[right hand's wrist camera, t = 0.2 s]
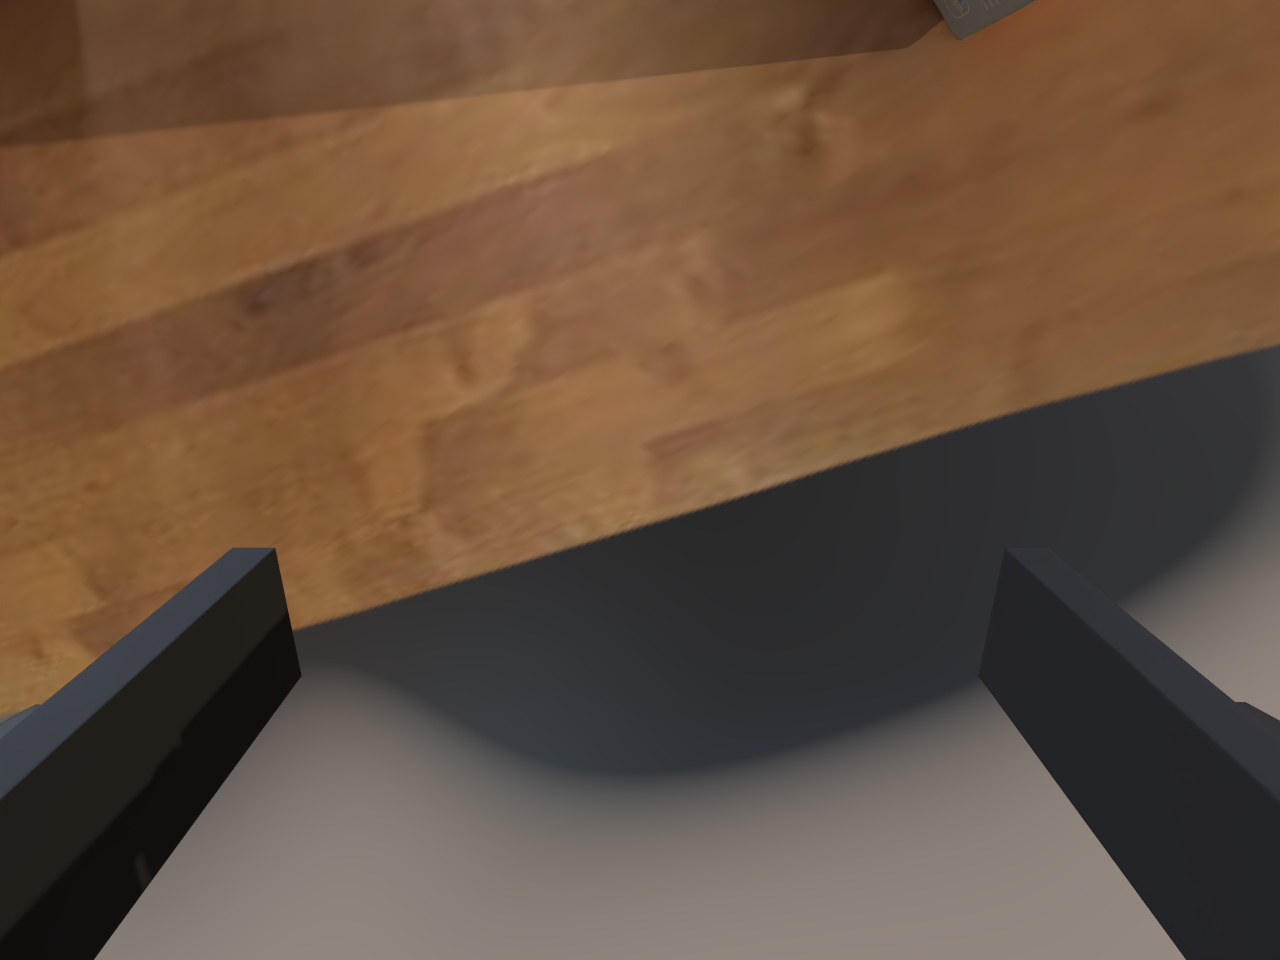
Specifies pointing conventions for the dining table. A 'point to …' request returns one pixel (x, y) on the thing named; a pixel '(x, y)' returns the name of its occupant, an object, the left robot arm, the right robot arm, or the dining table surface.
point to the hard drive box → (976, 13)
